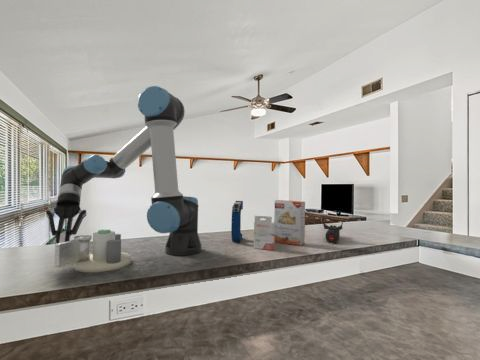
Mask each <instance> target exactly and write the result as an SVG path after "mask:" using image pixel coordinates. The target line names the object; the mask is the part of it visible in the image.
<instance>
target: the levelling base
mask: <svg viewBox="0 0 480 360" xmlns="http://www.w3.org/2000/svg"><path fill="white" fill-rule="evenodd" d="M121 237H122V234H120V233H116V231H114V230H111V229H99V230H97V231H95V232H93V233H92V253H90V260H88V261H83V262H73V269H74V271H77V272H81V273H102V272H111V271H115V270H118V269H122V268H125V267H127V266H129V265H130V264H131V262H132V254H130V253H128V252H123V251H122V240H121V239H122V238H121Z"/></svg>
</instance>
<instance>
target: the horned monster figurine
mask: <svg viewBox="0 0 480 360" xmlns="http://www.w3.org/2000/svg"><path fill="white" fill-rule="evenodd" d="M343 223H344V222H343V221H342V222H341V225H339V226H337V225H333V224H330V226H329V225H327V224H326V223H325V220H324V221H322V224H323V229H324V230H326V233H325V240H326V242H328V244H330V243H333V244H336V243H337V242H338V241H339V240H340V235H341V234H340V232H341V230H343ZM333 244H332V245H333Z"/></svg>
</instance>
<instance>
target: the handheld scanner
mask: <svg viewBox="0 0 480 360" xmlns="http://www.w3.org/2000/svg"><path fill="white" fill-rule="evenodd" d="M243 204H244V201H243V200H235V202H234V203H233V205H232V209H231V225H230V226H231V229H230V230H231V233H230V234H231V241H232V242H234V243H235V242H241V241H242V239H243V233H242V231H241V229H242V228H241V217H242V216H241V215H242V210H243V207H244V205H243Z"/></svg>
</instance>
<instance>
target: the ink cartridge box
mask: <svg viewBox="0 0 480 360" xmlns="http://www.w3.org/2000/svg"><path fill="white" fill-rule="evenodd" d="M264 219H265V220H264ZM272 219H273V218H272V216H269V215H268V216H266V215H254V221H253V248H254V249H259V250H266V251H267V250H268V251H273V250H274V249H275V242H274V221H273V220H272Z"/></svg>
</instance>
